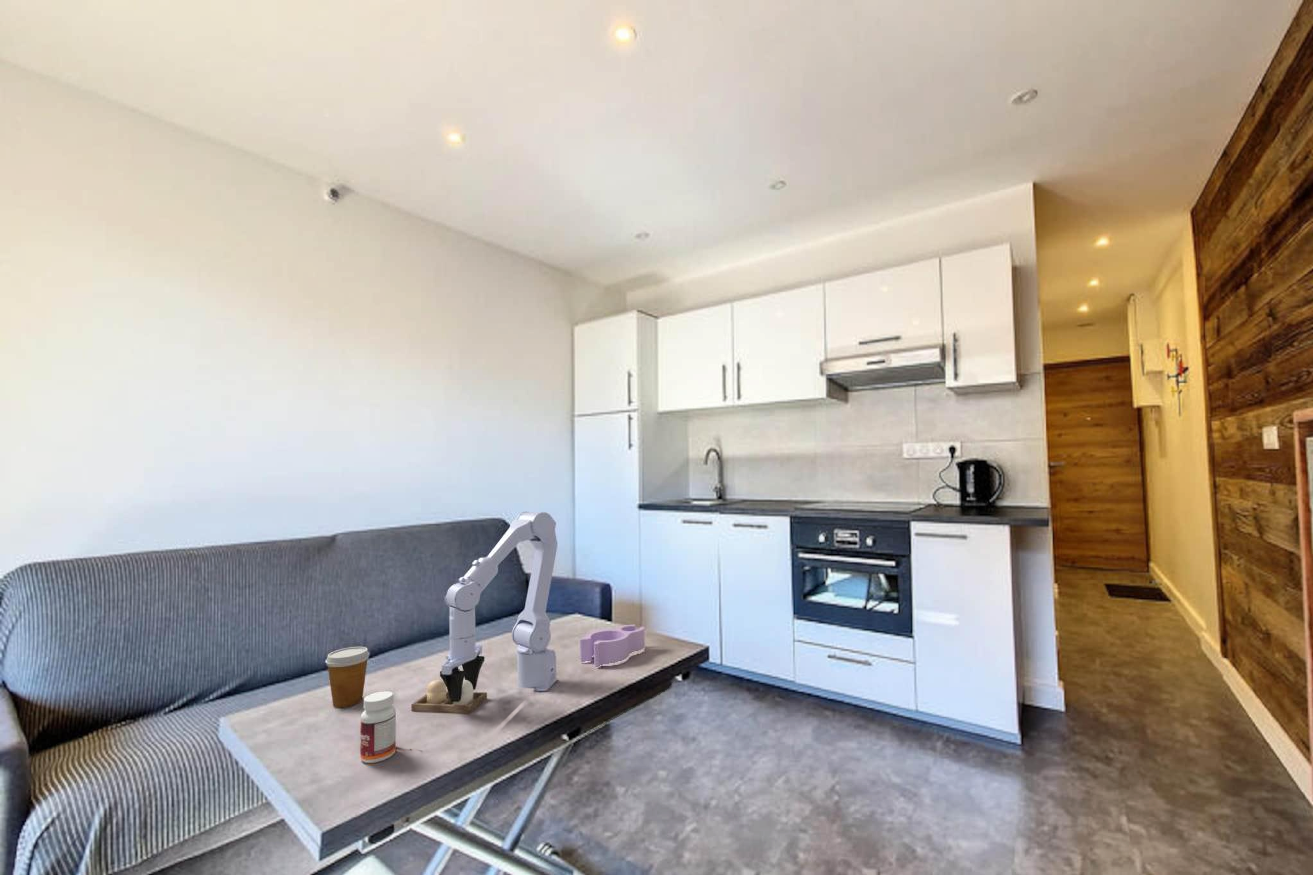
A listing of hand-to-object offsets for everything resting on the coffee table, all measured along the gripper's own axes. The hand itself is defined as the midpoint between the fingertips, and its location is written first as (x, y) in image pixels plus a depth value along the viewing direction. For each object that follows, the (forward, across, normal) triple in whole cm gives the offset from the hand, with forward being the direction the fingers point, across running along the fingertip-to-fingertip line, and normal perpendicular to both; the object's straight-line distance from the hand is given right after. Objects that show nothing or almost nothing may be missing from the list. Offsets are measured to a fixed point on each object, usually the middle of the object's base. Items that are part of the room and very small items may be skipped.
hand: (463, 695), depth 127 cm
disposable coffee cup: (+3, -1, -32) cm, 32 cm away
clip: (+3, -38, +26) cm, 46 cm away
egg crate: (+3, 0, -3) cm, 5 cm away
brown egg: (+2, 0, -7) cm, 7 cm away
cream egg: (+2, 0, 0) cm, 2 cm away
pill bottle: (+3, +22, -5) cm, 23 cm away
